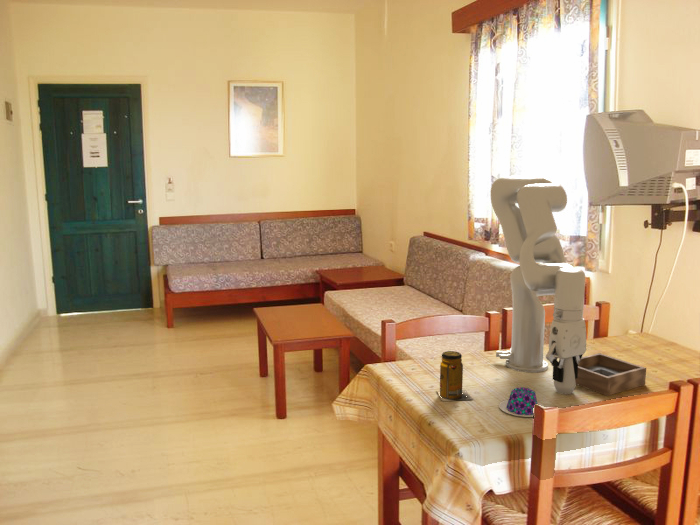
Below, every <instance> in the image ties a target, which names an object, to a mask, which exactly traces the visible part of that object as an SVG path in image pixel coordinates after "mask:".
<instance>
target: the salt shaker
mask: <svg viewBox="0 0 700 525" xmlns="http://www.w3.org/2000/svg"><path fill="white" fill-rule="evenodd" d="M562 368H564V374H563V382H558V381H555V380H553V385H554V386H553V387H554V389H555V391H556V393H558V394H560V395H568V396H569V395H571V394H573V392H574V391H575V390H576V386H577V384H576V381H575V373H574V366H573V358H572V357H570V358H566V359H564V361H563V365H562Z"/></svg>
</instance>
